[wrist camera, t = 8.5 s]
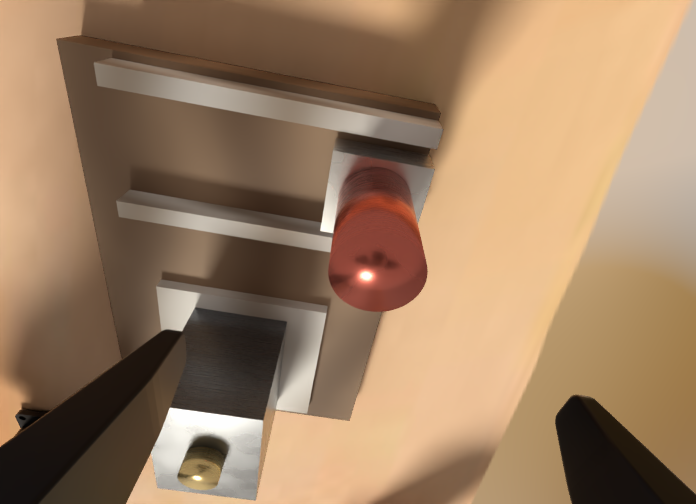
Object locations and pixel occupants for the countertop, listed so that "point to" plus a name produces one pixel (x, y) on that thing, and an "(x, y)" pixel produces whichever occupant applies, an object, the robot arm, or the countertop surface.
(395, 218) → the lever
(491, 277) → the countertop surface
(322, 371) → the base
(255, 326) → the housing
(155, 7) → the countertop surface
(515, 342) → the countertop surface
